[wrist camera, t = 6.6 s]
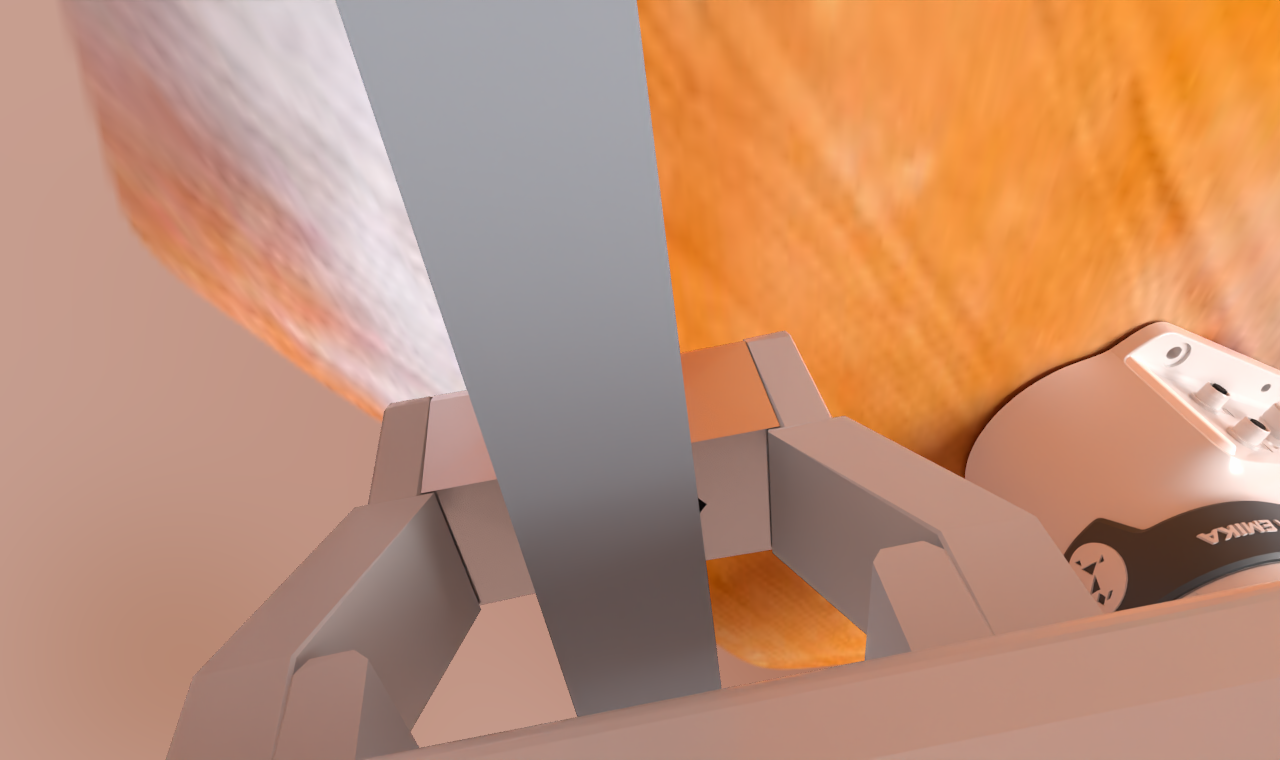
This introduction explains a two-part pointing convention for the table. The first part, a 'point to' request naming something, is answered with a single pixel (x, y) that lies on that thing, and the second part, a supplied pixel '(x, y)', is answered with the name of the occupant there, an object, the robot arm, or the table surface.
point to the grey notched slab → (557, 312)
